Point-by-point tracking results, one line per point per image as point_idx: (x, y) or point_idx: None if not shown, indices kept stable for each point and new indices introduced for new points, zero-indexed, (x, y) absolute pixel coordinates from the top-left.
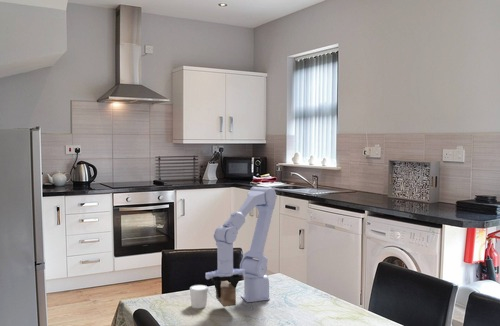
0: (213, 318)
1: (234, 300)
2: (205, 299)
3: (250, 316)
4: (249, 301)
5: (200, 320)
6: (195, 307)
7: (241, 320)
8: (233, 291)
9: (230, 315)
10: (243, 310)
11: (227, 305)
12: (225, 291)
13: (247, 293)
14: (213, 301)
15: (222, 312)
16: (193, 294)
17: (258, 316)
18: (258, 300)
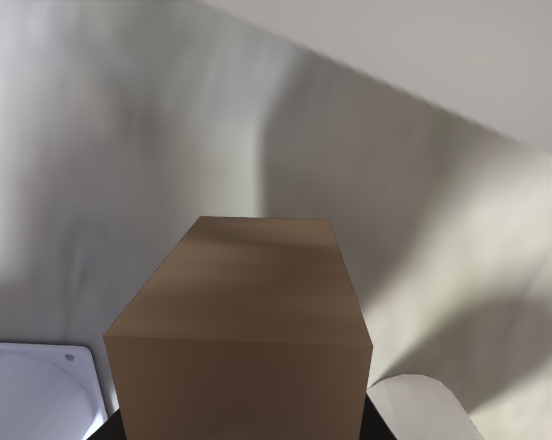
0: (417, 172)
1: (199, 236)
2: (393, 428)
3: (115, 97)
4: (71, 349)
5: (530, 172)
6: (447, 388)
7: (212, 34)
8: (171, 302)
9: (268, 181)
10: (145, 236)
11: (288, 222)
12: (326, 322)
13: (49, 420)
14: None
15: None
16: None
17: (46, 69)
18: (7, 345)
